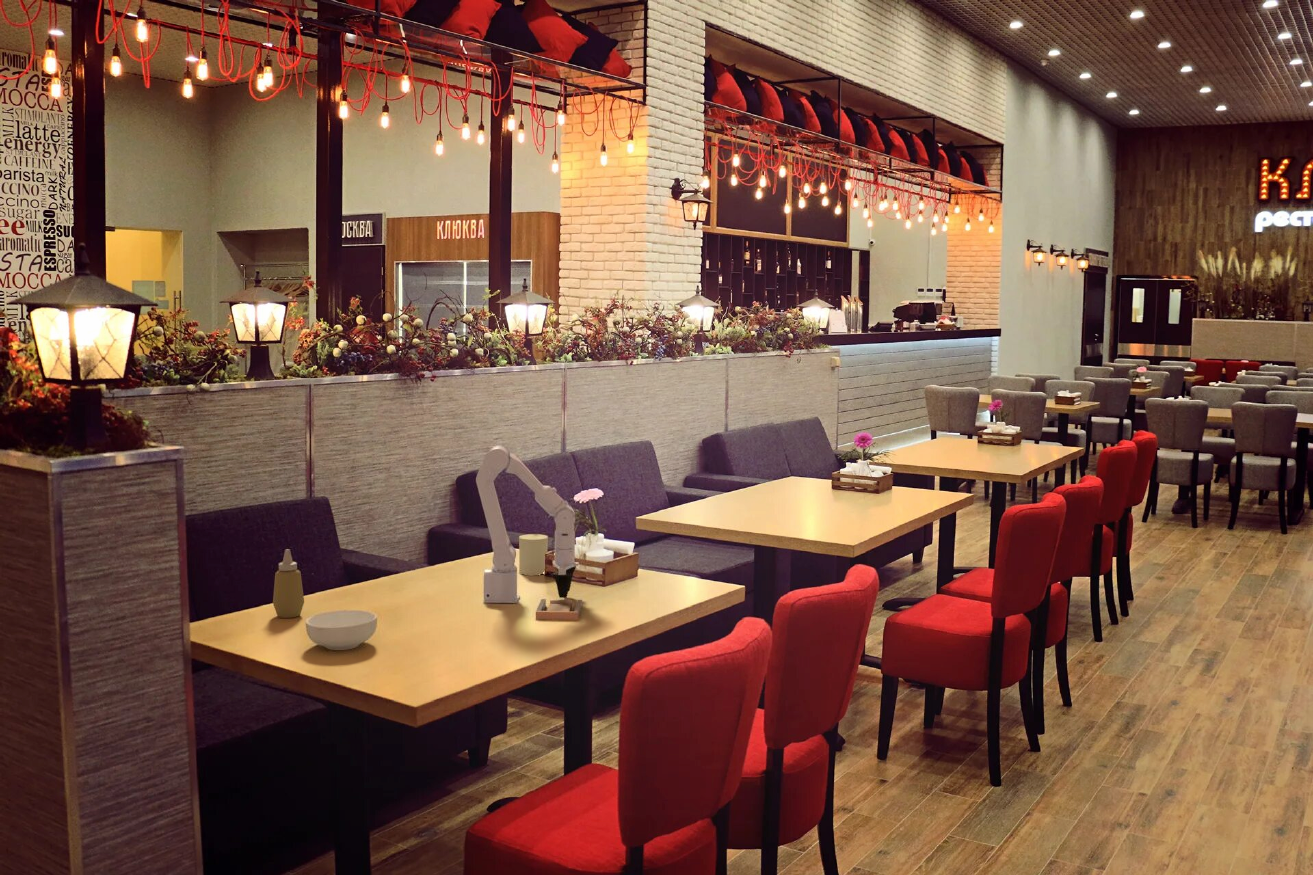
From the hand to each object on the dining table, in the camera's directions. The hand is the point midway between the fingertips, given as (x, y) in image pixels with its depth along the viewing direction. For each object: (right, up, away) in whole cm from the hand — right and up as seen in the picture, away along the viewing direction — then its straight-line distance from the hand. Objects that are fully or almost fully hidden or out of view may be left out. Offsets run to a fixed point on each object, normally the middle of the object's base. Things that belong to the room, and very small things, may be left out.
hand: (564, 594), depth 334 cm
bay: (0, -3, -14) cm, 15 cm away
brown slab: (0, -3, -14) cm, 14 cm away
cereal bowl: (-51, -6, -49) cm, 71 cm away
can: (-13, +2, +35) cm, 37 cm away
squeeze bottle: (-72, -3, -21) cm, 76 cm away
